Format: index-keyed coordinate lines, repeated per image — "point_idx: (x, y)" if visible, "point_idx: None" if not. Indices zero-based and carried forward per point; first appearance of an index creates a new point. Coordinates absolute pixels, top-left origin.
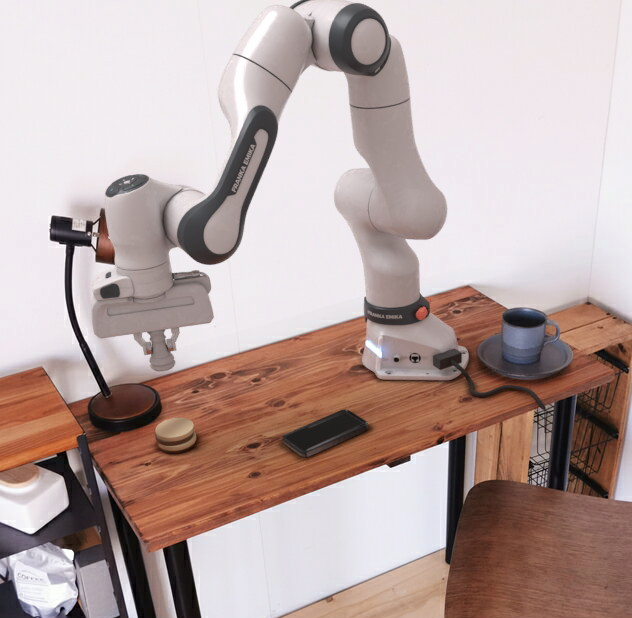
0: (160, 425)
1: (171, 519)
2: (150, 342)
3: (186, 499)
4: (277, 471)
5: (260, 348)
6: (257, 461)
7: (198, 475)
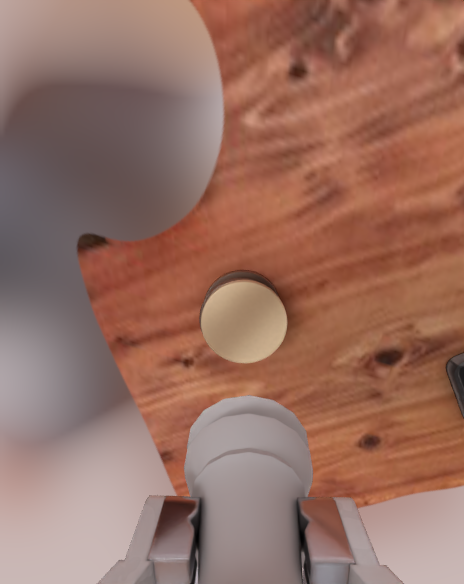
0: (212, 308)
1: None
2: (188, 575)
3: None
4: (409, 443)
5: None
6: (383, 407)
7: None
